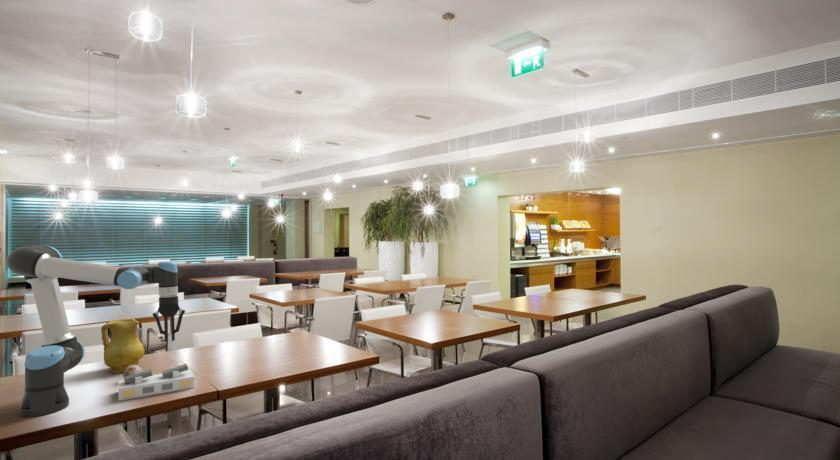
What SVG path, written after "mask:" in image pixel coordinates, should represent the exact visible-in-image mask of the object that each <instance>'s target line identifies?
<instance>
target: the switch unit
mask: <svg viewBox="0 0 840 460" xmlns="http://www.w3.org/2000/svg"><path fill="white" fill-rule="evenodd" d="M174 367H175V366H173V367H171V368H174ZM192 371H193V370H191V369H189V368H188V370H186V371H183V372H180V373H179V371H173V375H171V376H168V377H166V378H163V375H162V373H158V374H152V376H150V377H146V378H143V379H142V376H141V377H135V381H133V382H130V383H126V384H125V381H124V379H119V380H118V401H125V400H132V399H137V398H142V397H149V396H155V395H160V394H164V393H172V392H176V391H183V390H187V389H189V390H190V389H194V388H195V375H194V373H193V372H192ZM138 373H139V372H138ZM135 374H136V373H135Z"/></svg>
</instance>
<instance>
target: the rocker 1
mask: <svg viewBox="0 0 840 460" xmlns="http://www.w3.org/2000/svg"><path fill="white" fill-rule="evenodd" d="M142 371H143V372H139V373H136V374H132V375H129V376H125V377H123V380H124V381H125V384H126V383H130V382H133V381H135V377H141V376H142V379H143V378H146V377H150V376H152V375H153V374H152V373H153V372H152V369H147V370H142Z"/></svg>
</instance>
